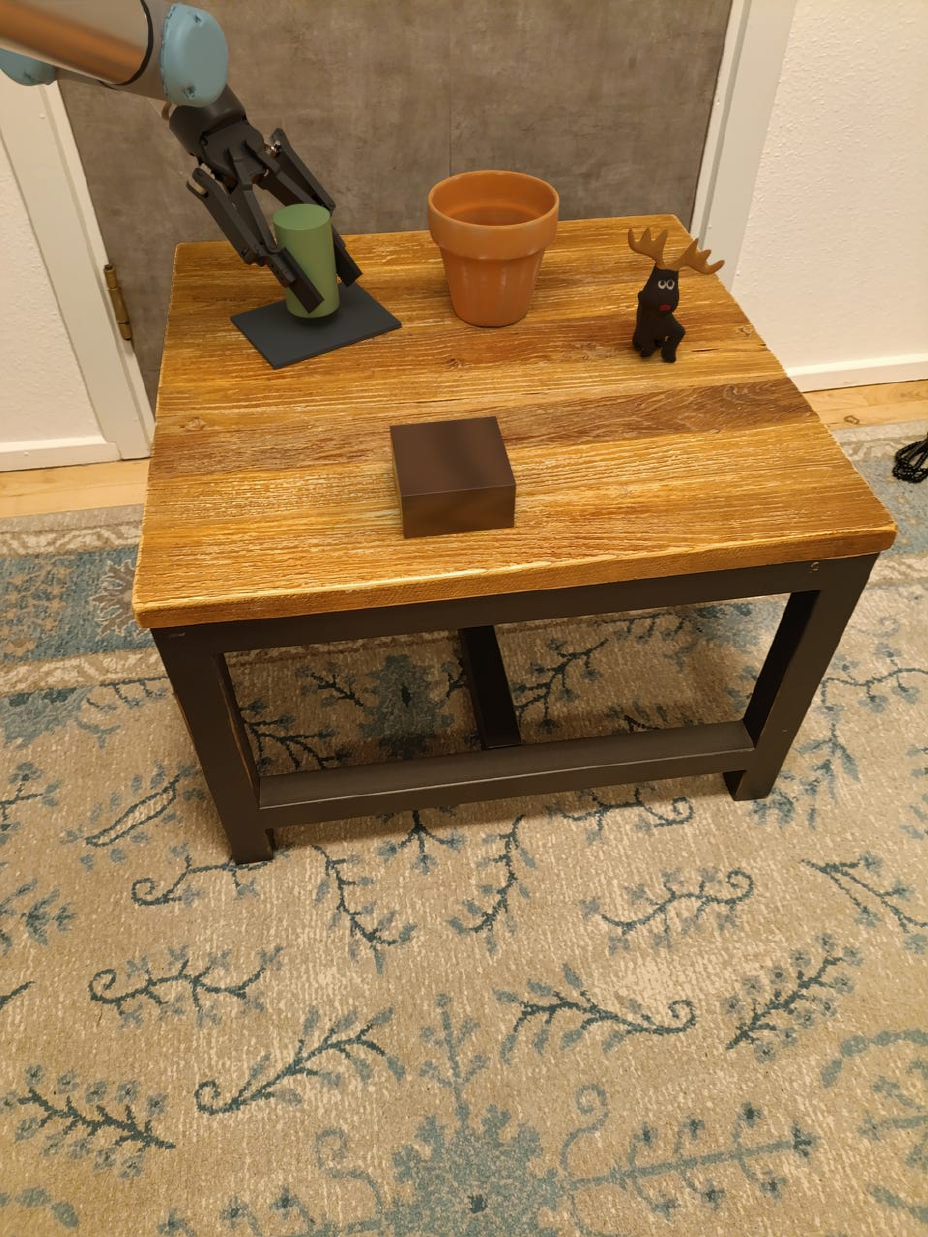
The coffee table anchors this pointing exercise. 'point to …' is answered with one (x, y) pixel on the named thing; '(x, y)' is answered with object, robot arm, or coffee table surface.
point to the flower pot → (492, 241)
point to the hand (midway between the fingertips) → (336, 293)
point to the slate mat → (314, 327)
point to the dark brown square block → (452, 477)
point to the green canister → (309, 253)
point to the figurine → (663, 295)
